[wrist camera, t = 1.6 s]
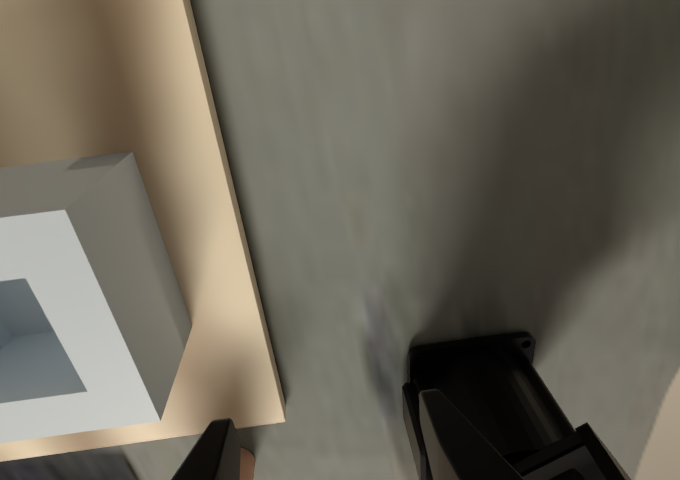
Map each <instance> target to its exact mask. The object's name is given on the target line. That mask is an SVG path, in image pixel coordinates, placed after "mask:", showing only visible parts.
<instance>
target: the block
mask: <svg viewBox="0 0 680 480" xmlns="http://www.w3.org/2000/svg"><path fill="white" fill-rule="evenodd" d="M191 329H192V323H191V320H190V318H189V315H188V312H187V309H186V306H185V303H184V300H183V297H182V294H181V291H180V288H179V286H178V283H177V280H176V277H175V274H174V271H173V268H172V265H171V262H170V259H169V256H168V254H167V251H166V248H165V245H164V242H163V239H162V236H161V233H160V230H159V227H158V224H157V222H156V219H155V216H154V213H153V210H152V207H151V204H150V201H149V198H148V195H147V193H146V190H145V187H144V184H143V181H142V178H141V175H140V172H139V169H138V166H137V163H136V161H135V158H134V155H133V152H132V151H131V152H123V153H115V154H107V155H98V156H90V157H82V158H74V159H66V160H58V161H50V162H41V163H33V164H25V165H17V166H9V167H1V168H0V443H7V442H14V441H21V440H28V439H36V438H43V437H50V436H57V435H65V434H72V433H79V432H86V431H93V430H101V429H108V428H115V427H122V426H129V425H137V424H144V423H151V422H158V421H161V419H162V416H163V413H164V410H165V407H166V404H167V401H168V398H169V395H170V392H171V389H172V386H173V383H174V380H175V377H176V374H177V371H178V368H179V365H180V362H181V359H182V356H183V353H184V350H185V347H186V344H187V341H188V338H189V335H190V332H191Z"/></svg>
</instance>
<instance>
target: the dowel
mask: <svg viewBox="0 0 680 480" xmlns="http://www.w3.org/2000/svg"><path fill="white" fill-rule="evenodd" d="M254 467H255V458H254V456H253V455H252V454H251V452H249V451H248V450H246V449H244V448H242V447H241V459H240V480H253V477H254Z"/></svg>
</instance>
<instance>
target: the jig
mask: <svg viewBox="0 0 680 480" xmlns="http://www.w3.org/2000/svg"><path fill="white" fill-rule="evenodd" d="M131 151H132V152H133V155H134V158H135V161H136V163H137V166H138V169H139V172H140V175H141V178H142V181H143V184H144V187H145V190H146V193H147V195H148V198H149V201H150V204H151V207H152V210H153V213H154V216H155V219H156V222H157V224H158V227H159V230H160V233H161V236H162V239H163V242H164V245H165V248H166V251H167V254H168V256H169V259H170V262H171V265H172V268H173V271H174V274H175V277H176V280H177V283H178V286H179V288H180V291H181V294H182V297H183V300H184V303H185V306H186V309H187V312H188V315H189V318H190V320H191V323H192V329H191V332H190V335H189V338H188V341H187V344H186V347H185V350H184V353H183V356H182V359H181V362H180V365H179V368H178V371H177V374H176V377H175V380H174V383H173V386H172V389H171V392H170V395H169V398H168V401H167V404H166V407H165V410H164V413H163V416H162V419H161V421H158V422H151V423H144V424H137V425H129V426H122V427H115V428H108V429H101V430H93V431H86V432H79V433H72V434H65V435H57V436H50V437H43V438H36V439H28V440H21V441H14V442H7V443H0V462H1V461H8V460H15V459H23V458H30V457H37V456H44V455H51V454H58V453H66V452H73V451H80V450H87V449H94V448H101V447H108V446H116V445H123V444H130V443H137V442H144V441H151V440H159V439H166V438H173V437H180V436H187V435H194V434H202V433H203V432H204V431H205V429H206V428H207V426H208V425H209V424H210V422H211V421H213V420H215V419H221V418H231V419H232V420H233V422H234V425H235V428H236V429H237V428H245V427H252V426H259V425H266V424H273V423H280V422H285V414H286V405H285V401H284V397H283V393H282V388H281V384H280V380H279V376H278V371H277V367H276V363H275V359H274V354H273V350H272V346H271V342H270V338H269V333H268V329H267V325H266V321H265V316H264V312H263V308H262V304H261V299H260V295H259V291H258V287H257V283H256V278H255V274H254V270H253V266H252V261H251V257H250V253H249V249H248V244H247V240H246V236H245V232H244V228H243V223H242V219H241V215H240V211H239V206H238V202H237V198H236V194H235V189H234V185H233V181H232V177H231V172H230V168H229V164H228V160H227V156H226V151H225V147H224V143H223V139H222V134H221V130H220V126H219V122H218V117H217V113H216V109H215V105H214V101H213V96H212V92H211V88H210V84H209V79H208V75H207V71H206V67H205V62H204V58H203V54H202V50H201V46H200V41H199V37H198V33H197V29H196V24H195V20H194V16H193V12H192V7H191V3H190V0H0V168H1V167H9V166H17V165H25V164H33V163H41V162H50V161H58V160H66V159H74V158H82V157H90V156H98V155H107V154H115V153H123V152H131Z"/></svg>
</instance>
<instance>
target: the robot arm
mask: <svg viewBox="0 0 680 480" xmlns="http://www.w3.org/2000/svg"><path fill="white" fill-rule="evenodd" d="M524 341H525V342H524ZM522 342H523V343H522ZM534 350H535V339H534V338H533V336H532V335H531V334H530V333H529V332H517V333H509V334H502V335H495V336H487V337H480V338H473V339H465V340H458V341H451V342H443V343H436V344H429V345H421V346H416V347H413V348H411V349H410V350H409V352H408V378H409V382H407V383H405V384H404V385H403V387H402V397H403V417H404V422H405V426H406V430H407V434H408V437H409V441H410V445H411V449H412V453H413V457H414V461H415V465H416V469H417V473H418V477H419V480H631V479H630V477H629V476H628V474H627V473H626V472H625V470H624V469H623V468H622V467H621V465H620V464H619V463H618V461H617V460H616V459H615V458H614V456H613V455H612V454H611V452H610V451H609V450H608V449H607V447H606V446H605V445H604V443H603V442H602V441H601V440H600V438H599V437H598V436H597V434H596V433H595V432H594V431H593V429H592V428H591V427H590V425H589V424H588V423H585V424H583V425H581V426H579V427H577V428H575V430H576V431H575V430H574V428H573V427H572V425H571V423H570V422H569V420H568V419H567V417H566V416H565V414H564V413H563V411H562V410H561V408H560V407H559V405H558V404H557V402H556V400H555V399H554V397H553V396H552V394H551V393H550V391H549V390H548V388H547V387H546V385H545V384H544V382H543V380H542V379H541V377H540V376H539V374H538V373H537V371H536V370H535V368H534V367H533V365H532V362H533V356H534ZM418 355H421V356H419V357H416V356H418ZM240 459H241V446H240V441H239V438H238V435H237V432H236V428H235V425H234V422H233V420H232V419H231V418H221V419H215V420H213V421H211V422H210V424H209V425H208V426H207V428H206V429H205V431H204V432H203V434H202V435H201V437H200V438H199V440H198V441H197V443H196V444H195V445H194V447H193V448H192V450H191V451H190V453H189V454H188V456H187V457H186V459H185V460H184V461H183V463H182V464H181V466H180V467H179V469H178V470H177V472H176V473H175V475H174V476H173V478H172V479H171V480H240Z"/></svg>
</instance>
